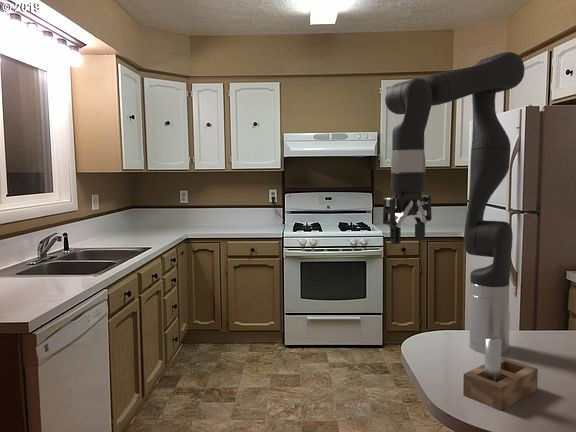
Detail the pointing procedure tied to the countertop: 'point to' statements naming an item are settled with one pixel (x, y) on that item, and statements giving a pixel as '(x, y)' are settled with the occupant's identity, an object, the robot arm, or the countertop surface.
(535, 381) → the hole block
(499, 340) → the peg
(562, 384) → the countertop surface
